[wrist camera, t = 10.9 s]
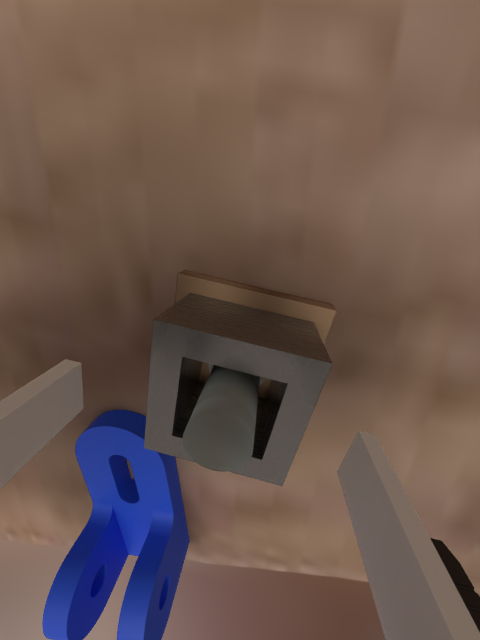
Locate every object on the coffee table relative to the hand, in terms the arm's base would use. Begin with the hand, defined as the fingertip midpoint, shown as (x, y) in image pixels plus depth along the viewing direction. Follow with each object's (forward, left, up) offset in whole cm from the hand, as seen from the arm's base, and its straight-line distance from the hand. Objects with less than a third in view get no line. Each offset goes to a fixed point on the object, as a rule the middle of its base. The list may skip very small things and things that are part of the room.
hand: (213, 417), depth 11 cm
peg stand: (0, 0, -7) cm, 7 cm away
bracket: (-6, -17, -7) cm, 20 cm away
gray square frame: (0, 0, -6) cm, 6 cm away
